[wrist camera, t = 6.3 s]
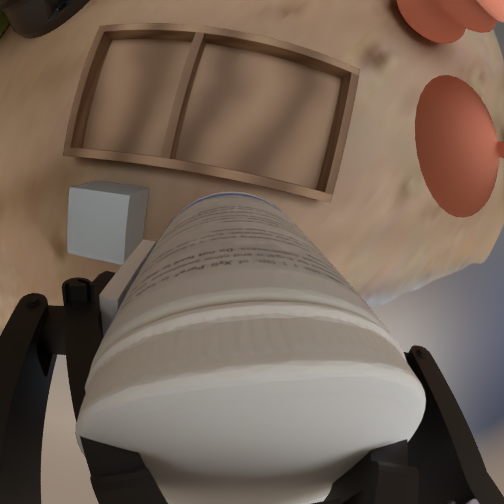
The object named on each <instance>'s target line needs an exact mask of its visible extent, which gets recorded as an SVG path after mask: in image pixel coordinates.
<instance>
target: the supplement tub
mask: <svg viewBox="0 0 504 504" xmlns="http://www.w3.org/2000/svg"><path fill="white" fill-rule="evenodd" d="M85 391H86V394H85V397H84V400H83V403H82V405H81V408H80V412H79V415H78V419H77V423H76V438H77V442H78V445H79V447H80V449H81V451H82V453H83V454H84V450H83V447H82V443H81V439H80V436H82V437H84V438H88V439H91V440H94V441H97V442H101V443H105V444H108V445H111V446H115V447H118V448H122V449H126V450H130V451H134V452H138V453H139V454H140V456H141V458H142V460H143V462H144V464H145V466H146V467H147V468H148V469H149V471H150V472H151V474H152V476H153V478H154V480H155V481H156V483H157V485H158V487H159V489H160V490H161V492H162V494H163V496H164V497H165V499H166V501H167V503H168V504H301V503H305V502H308V501H311V500H314V499H317V498H321V497H323V496H326V495H329V493H330V490H331V487H332V484H333V482H335V481H336V480H337V479H338V478H340V477H341V476H342V475H343V474H345V473H346V472H347V471H348V470H349V469H351V468H352V467H353V466H354V465H355V464H357V463H358V462H359V461H360V460H361V459H362V458H363V457H364V456H365V455H366V454H368V453H369V452H370V451H371V450H372V449H375V448H379V447H382V446H386V445H389V444H392V443H396V442H399V441H402V440H406V439H407V440H408V441H409V440H410V439H411V437H412V436H413V434H414V433H415V431H416V430H417V428H418V426H419V424H420V422H421V420H422V418H423V414H424V411H425V405H426V397H425V392H424V389H423V387H422V384H421V383H420V381H419V380H418V378H417V377H416V375H415V374H414V372H413V371H412V369H411V368H410V366H409V365H408V364H407V361H406V358H405V355H404V352H403V350H402V349H401V347H400V345H399V344H398V343H397V341H396V340H395V338H394V337H393V336H392V335H391V334H390V333H389V331H388V330H387V328H386V327H385V325H384V324H383V323H382V322H381V321H380V320H379V318H378V317H377V316H376V315H375V313H374V312H373V311H372V310H371V308H370V307H369V306H368V305H367V303H366V302H365V301H364V300H363V299H362V298H361V297H360V295H359V294H358V293H357V292H356V291H355V290H354V289H353V287H352V286H351V285H350V284H349V283H348V282H347V281H346V280H345V278H344V277H343V276H342V275H341V274H340V273H339V272H338V271H337V269H336V268H335V267H334V266H333V265H332V264H331V263H330V262H329V261H328V259H327V258H326V257H325V256H324V255H323V254H322V253H321V252H320V251H319V250H318V248H317V247H316V246H315V245H314V244H313V243H312V242H311V241H310V240H309V239H308V238H307V237H306V236H305V234H304V233H303V232H302V231H301V230H300V229H299V228H298V227H297V226H296V225H295V224H294V223H293V222H292V221H291V220H290V219H289V218H288V217H287V216H286V215H285V214H284V213H283V212H282V211H281V210H280V209H279V208H278V207H276V206H275V205H274V204H272V203H270V202H269V201H267V200H265V199H263V198H261V197H258V196H256V195H252V194H249V193H244V192H234V191H228V192H218V193H214V194H210V195H207V196H204V197H202V198H199V199H197V200H195V201H193V202H192V203H190V204H189V205H187V206H186V207H185V208H184V209H182V210H181V211H180V212H179V213H178V214H177V215H176V216H175V217H174V218H173V220H172V221H171V222H170V224H169V225H168V227H167V228H166V230H165V231H164V233H163V234H162V236H161V237H160V239H159V240H158V242H157V243H156V245H155V247H154V248H153V250H152V251H151V253H150V254H149V256H148V258H147V259H146V261H145V263H144V264H143V266H142V268H141V269H140V271H139V273H138V274H137V276H136V278H135V279H134V281H133V283H132V285H131V286H130V288H129V290H128V292H127V293H126V295H125V297H124V299H123V301H122V302H121V304H120V306H119V308H118V310H117V312H116V314H115V315H114V317H113V319H112V321H111V323H110V325H109V327H108V329H107V331H106V333H105V335H104V337H103V339H102V342H101V344H100V346H99V348H98V350H97V353H96V355H95V357H94V359H93V362H92V364H91V368H90V373H89V376H88V378H87V381H86V385H85ZM84 456H85V454H84Z"/></svg>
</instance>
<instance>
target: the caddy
mask: <svg viewBox="0 0 504 504" xmlns="http://www.w3.org/2000/svg"><path fill="white" fill-rule="evenodd" d="M359 73H360V69H359V68H356V67H354V66H352V65H349V64H347V63H345V62H342V61H340V60H337V59H335V58H332V57H330V56H327V55H324V54H321V53H319V52H316V51H313V50H310V49H307V48H304V47H301V46H297V45H294V44H291V43H287V42H284V41H280V40H276V39H272V38H268V37H264V36H260V35H255V34H250V33H245V32H240V31H234V30H228V29H222V28H215V27H207V26H198V25H186V24H168V23H134V24H116V25H105V26H100V27H99V30H98V32H97V34H96V37H95V39H94V42H93V44H92V47H91V49H90V52H89V55H88V57H87V60H86V63H85V66H84V69H83V72H82V75H81V78H80V81H79V85H78V88H77V92H76V95H75V99H74V103H73V107H72V111H71V115H70V120H69V125H68V129H67V135H66V140H65V146H64V152H63V156H74V157H85V158H96V159H105V160H114V161H122V162H130V163H138V164H145V165H152V166H159V167H165V168H172V169H178V170H184V171H189V172H195V173H201V174H206V175H211V176H217V177H222V178H227V179H232V180H236V181H241V182H246V183H251V184H255V185H260V186H264V187H268V188H273V189H277V190H281V191H285V192H289V193H293V194H297V195H301V196H305V197H309V198H313V199H317V200H320V201H324V202H328V203H331V200H332V196H333V192H334V188H335V184H336V181H337V177H338V173H339V169H340V164H341V160H342V156H343V152H344V148H345V143H346V139H347V134H348V130H349V125H350V120H351V115H352V110H353V105H354V100H355V95H356V90H357V84H358V79H359Z"/></svg>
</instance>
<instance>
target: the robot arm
mask: <svg viewBox="0 0 504 504" xmlns="http://www.w3.org/2000/svg"><path fill="white" fill-rule="evenodd" d="M89 1H90V0H0V10H1V11H2V12H3V14H4V16H5V17H6V19H7V20H8V22H9V23H10V25H11V26H12V28H13V30H14V31H15V32H16V33H17V34H19V35H21V36H24V37H26V38H35V37H39V36H42V35H44V34H47V33H49V32H50V31H52V30H54V29H56V28H57V27H59V26H60V25H62V24H63V23H65V22H66V21H67V20H69V19H70V18H71V17H72V16H74V15H75V14H76V13H77V12H78V11H79V10H80V9H82V8H83V7H84V6H85V5H86V4H87V3H88V2H89ZM155 245H156V241H151V240H145V239H143V241H142V242H141V243H140V244H139V245H138V246H137V248H136V249H135V250H134V251H133V253H132V254H131V255H130V256H129V257H128V259H127V260H126V261H125V262H124V264H123V265H122V266H121V267H120V269H119V270H118V271H117V272H116V273H113V272H109V271H105V272H103V273H101V274H99V275H98V276H97V277H96V279H95V280H94V281H93V282H91V281H90V280H88V279H85V278H71V279H69V280H66V281H65V282H64V283H63V285H62V293H63V302H64V306H52V305H48V302H47V299H46V297H45V296H44V295H42V294H38V293H31V294H28V295H26V296H24V297H22V299H21V300H20V301H19V303H18V304H17V306H16V308H15V310H14V311H13V313H12V315H11V317H10V319H9V320H8V322H7V324H6V326H5V328H4V330H3V332H2V334H1V336H0V504H41V485H40V484H41V481H40V480H41V474H40V473H41V450H42V437H43V428H44V420H45V412H46V406H47V400H48V394H49V389H50V384H51V379H52V374H53V370H54V366H55V361H56V358H57V354H61V355H66V359H67V369H68V377H69V385H70V391H71V396H72V403H73V408H74V413H75V418H76V423H77V419H78V415H79V412H80V408H81V405H82V403H83V400H84V397H85V394H86V391H85V385H86V381H87V378H88V376H89V373H90V368H91V364H92V362H93V359H94V357H95V355H96V353H97V350H98V348H99V346H100V344H101V342H102V339H103V337H104V335H105V333H106V331H107V329H108V327H109V325H110V323H111V321H112V319H113V317H114V315H115V314H116V312H117V310H118V308H119V306H120V304H121V302H122V301H123V299H124V297H125V295H126V293H127V292H128V290H129V288H130V286H131V285H132V283H133V281H134V279H135V278H136V276H137V274H138V273H139V271H140V269H141V268H142V266H143V264H144V263H145V261H146V259H147V258H148V256H149V254H150V253H151V251H152V250H153V248H154V247H155ZM404 355H405V358H406V361H407V364H408V365H409V366H410V368H411V369H412V371H413V372H414V374H415V375H416V377H417V378H418V380H419V381H420V383H421V384H422V387H423V389H424V392H425V397H426V405H425V411H424V414H423V418H422V420H421V422H420V424H419V426H418V428H417V430H416V431H415V433H414V434H413V436H412V437H411V439H410V440H409V441H408V440H407V439H406V440H402V441H399V442H396V443H392V444H389V445H386V446H382V447H379V448H375V449H372V450H371V451H370V452H369V453H368V454H366V455H365V456H364V457H363V458H362V459H361V460H360V461H359V462H358V463H357V464H355V465H354V466H353V467H352V468H351V469H349V470H348V471H347V472H346V473H345V474H343V475H342V476H341V477H340V478H338V479H337V480H336V481H335V482H333V484H332V487H331V490H330V493H329V495H328V496H327V497H326V499H325V500H324V501H323V502H318V503H313V504H504V497H503V495H502V494H501V492H500V491H499V489H498V488H497V486H496V485H495V483H494V482H493V480H492V479H491V477H490V476H489V474H488V473H487V471H486V468H485V465H484V463H483V460H482V457H481V455H480V452H479V450H478V447H477V445H476V442H475V440H474V438H473V435H472V433H471V431H470V428H469V426H468V424H467V422H466V420H465V418H464V415H463V413H462V411H461V409H460V407H459V405H458V403H457V401H456V399H455V397H454V395H453V393H452V391H451V389H450V388H449V386H448V384H447V382H446V380H445V378H444V376H443V375H442V373H441V371H440V369H439V367H438V366H437V364H436V362H435V360H434V359H433V357H432V355H431V354H430V353H429V351H427V350H426V348H423V347H421V346H412V348H411V349H410V351H409V353H406V352H404ZM80 439H81V443H82V447H83V450H84V454H85V457H86V460H87V464H88V467H89V470H90V474H91V478H90V479H91V484H92V487H93V490H94V492H95V495H96V498H97V500H98V502H99V504H168V503H167V501H166V499H165V497H164V496H163V494H162V492H161V490H160V489H159V487H158V485H157V483H156V481H155V480H154V478H153V476H152V474H151V472H150V471H149V469H148V468H147V467H146V466H145V464H144V462H143V460H142V458H141V456H140V454H139V453H138V452H134V451H130V450H126V449H122V448H118V447H115V446H111V445H108V444H105V443H101V442H97V441H94V440H91V439H88V438H84V437H82V436H80Z"/></svg>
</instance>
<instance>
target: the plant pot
mask: <svg viewBox="0 0 504 504" xmlns="http://www.w3.org/2000/svg"><path fill="white" fill-rule="evenodd" d="M8 24H9V22H8V20H7V19H6V17H5V16H4V14H3V12H2V11H1V10H0V37H1V35H2V33H3V31H4V30H5V29H6V28H7V26H8Z"/></svg>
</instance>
